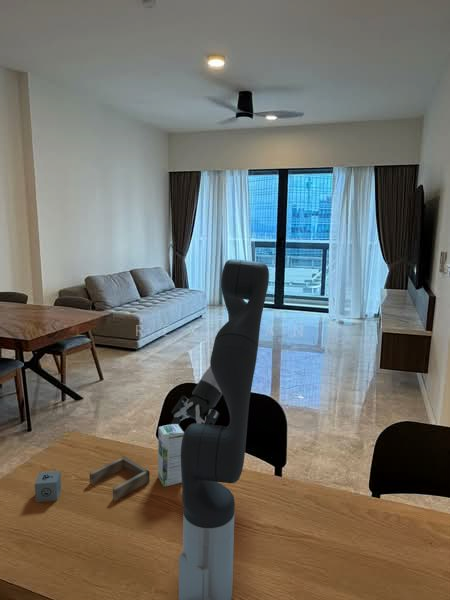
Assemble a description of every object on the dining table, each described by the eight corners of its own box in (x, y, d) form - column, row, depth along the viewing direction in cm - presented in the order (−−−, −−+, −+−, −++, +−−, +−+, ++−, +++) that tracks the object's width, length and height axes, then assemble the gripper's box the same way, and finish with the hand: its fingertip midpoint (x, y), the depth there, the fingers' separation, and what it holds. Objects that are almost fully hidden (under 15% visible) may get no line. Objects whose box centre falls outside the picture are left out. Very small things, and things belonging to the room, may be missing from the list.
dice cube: (40, 490, 110) (39, 472, 109) (61, 488, 111) (60, 470, 110) (35, 502, 105) (34, 483, 104) (57, 500, 106) (56, 482, 105)
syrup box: (157, 476, 117) (157, 426, 115) (177, 471, 120) (178, 422, 117) (163, 487, 112) (163, 435, 110) (184, 482, 115) (185, 431, 112)
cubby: (115, 501, 106) (115, 489, 106) (89, 483, 113) (89, 473, 113) (149, 481, 115) (149, 471, 114) (123, 466, 122) (123, 456, 121)
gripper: (188, 373, 125) (156, 422, 119) (222, 386, 115) (190, 440, 109) (201, 386, 130) (171, 434, 123) (235, 400, 120) (205, 452, 114)
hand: (180, 437), depth 116 cm, fingers open, 8 cm apart
